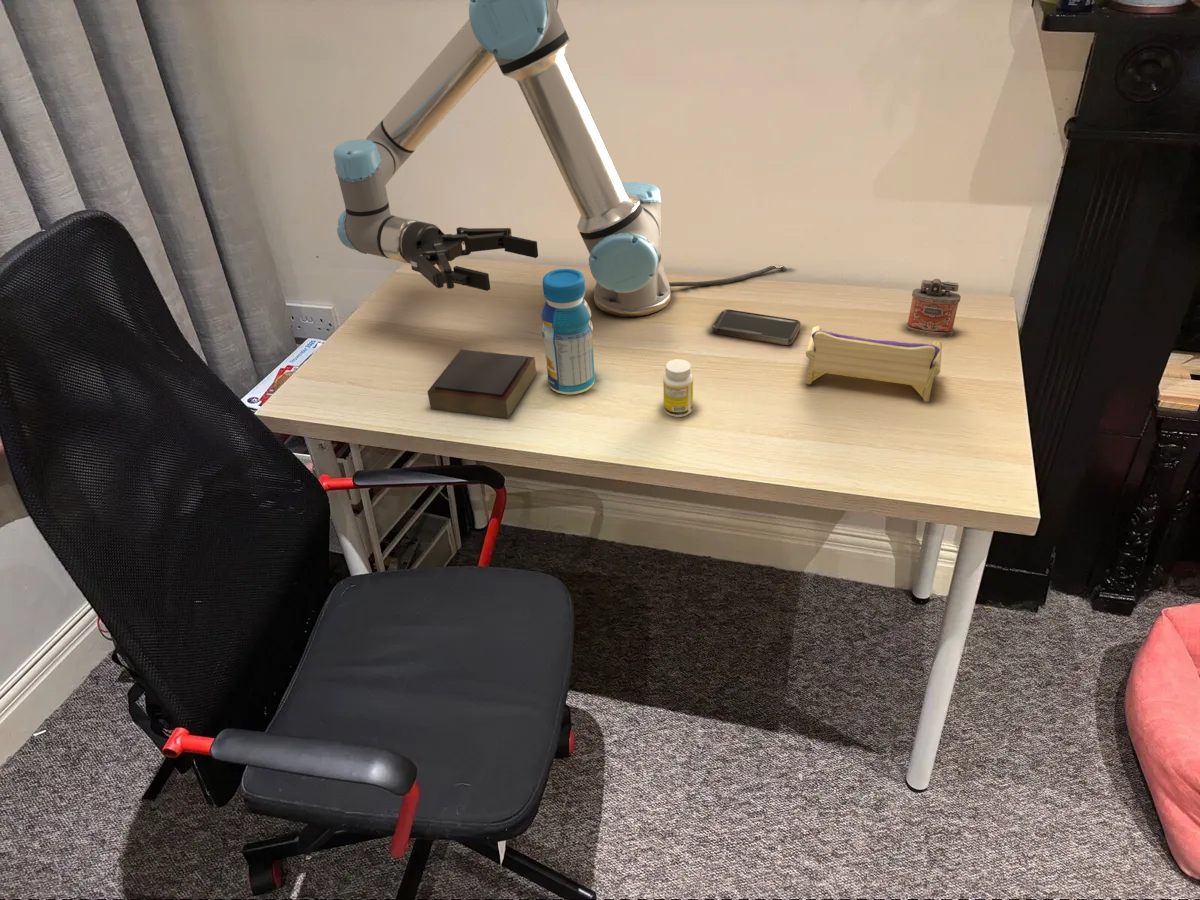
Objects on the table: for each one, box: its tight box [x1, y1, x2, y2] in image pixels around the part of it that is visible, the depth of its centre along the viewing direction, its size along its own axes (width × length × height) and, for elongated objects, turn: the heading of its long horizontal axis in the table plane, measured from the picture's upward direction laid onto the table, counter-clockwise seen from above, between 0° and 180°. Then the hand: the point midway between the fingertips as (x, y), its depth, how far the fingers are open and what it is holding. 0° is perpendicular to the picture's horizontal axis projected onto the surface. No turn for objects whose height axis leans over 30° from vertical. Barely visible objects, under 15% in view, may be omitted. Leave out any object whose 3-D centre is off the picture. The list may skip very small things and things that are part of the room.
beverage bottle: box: [540, 268, 596, 395], centre depth 143 cm, size 8×8×20 cm
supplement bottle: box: [662, 358, 694, 418], centre depth 138 cm, size 5×5×8 cm
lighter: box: [905, 278, 962, 338], centre depth 153 cm, size 8×3×10 cm, turn 68°
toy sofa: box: [805, 325, 943, 402], centre depth 141 cm, size 21×9×10 cm, turn 71°
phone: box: [712, 308, 801, 346], centre depth 160 cm, size 8×1×15 cm
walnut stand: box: [427, 348, 537, 420], centre depth 147 cm, size 14×14×4 cm
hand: (513, 265), depth 141 cm, fingers open, 13 cm apart
